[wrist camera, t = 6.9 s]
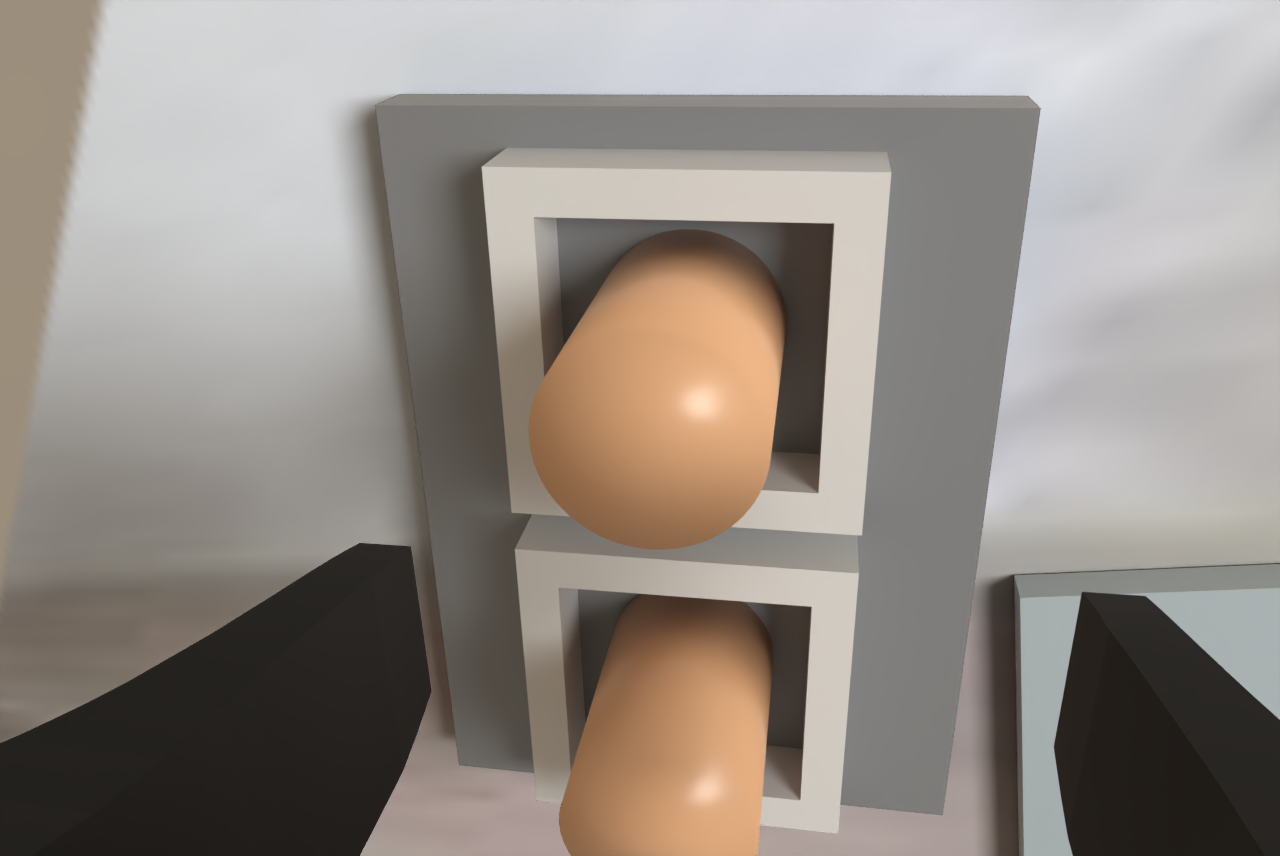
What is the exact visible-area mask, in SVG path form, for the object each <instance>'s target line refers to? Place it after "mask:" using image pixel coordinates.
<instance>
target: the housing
mask: <svg viewBox="0 0 1280 856" xmlns="http://www.w3.org/2000/svg"><path fill="white" fill-rule="evenodd" d="M375 108H376V116H377V124H378V132H379V140H380V148H381V155H382V163H383V171H384V179H385V187H386V195H387V203H388V210H389V218H390V226H391V234H392V242H393V250H394V258H395V266H396V273H397V281H398V289H399V297H400V305H401V313H402V321H403V328H404V336H405V344H406V352H407V360H408V368H409V376H410V383H411V391H412V399H413V407H414V415H415V423H416V431H417V438H418V446H419V454H420V462H421V470H422V478H423V486H424V493H425V501H426V509H427V517H428V525H429V533H430V541H431V548H432V556H433V564H434V572H435V580H436V588H437V596H438V603H439V611H440V619H441V627H442V635H443V643H444V651H445V659H446V666H447V674H448V682H449V690H450V698H451V706H452V714H453V721H454V729H455V737H456V745H457V753H458V761H459V765H463V766H473V767H483V768H492V769H502V770H511V771H521V772H531V773H534V776H535V787H536V799H537V801H543V802H552V803H562V800H563V796H564V793H565V790H566V787H567V783H568V780H569V777H570V773H571V770H572V767H573V763H574V760H575V757H576V754H577V750H578V747H579V744H580V740H581V737H582V734H583V730H584V727H585V724H586V721H587V717H588V714H589V711H590V707H591V704H592V701H593V697H594V694H595V691H596V688H597V684H598V681H599V678H600V674H601V671H602V668H603V664H604V661H605V658H606V655H607V651H608V648H609V645H610V641H611V638H612V635H613V631H614V628H615V625H616V623H617V620H618V618H619V616H620V615H621V613H622V611H623V610H624V609H625V608H626V606H627V605H628V604H629V603H630V602H631V601H633V600H634V599H635V598H636V597H638V596H639V595H641V594H651V595H664V596H677V597H690V598H703V599H717V600H730V601H743V602H745V603H746V604H747V605H748V606H749V607H751V608H752V609H753V610H754V611H755V613H756V614H757V615H758V616H759V617H760V619H761V620H762V621H763V623H764V624H765V626H766V628H767V630H768V632H769V635H770V637H771V640H772V645H773V670H772V682H771V694H770V707H769V719H768V732H767V744H766V756H765V769H764V781H763V794H762V806H761V819H760V825H765V826H774V827H783V828H792V829H802V830H811V831H820V832H830V833H838V825H839V813H840V805H848V806H858V807H867V808H877V809H887V810H896V811H906V812H915V813H925V814H935V815H943V809H944V802H945V794H946V787H947V780H948V773H949V766H950V758H951V751H952V744H953V737H954V730H955V722H956V715H957V708H958V701H959V693H960V686H961V679H962V672H963V665H964V657H965V650H966V643H967V636H968V628H969V621H970V614H971V607H972V600H973V592H974V585H975V578H976V571H977V564H978V556H979V549H980V542H981V535H982V527H983V520H984V513H985V506H986V499H987V491H988V484H989V477H990V470H991V463H992V455H993V448H994V441H995V434H996V426H997V419H998V412H999V405H1000V398H1001V390H1002V383H1003V376H1004V369H1005V361H1006V354H1007V347H1008V340H1009V333H1010V325H1011V318H1012V311H1013V304H1014V297H1015V289H1016V282H1017V275H1018V268H1019V260H1020V253H1021V246H1022V239H1023V232H1024V224H1025V217H1026V210H1027V203H1028V196H1029V188H1030V181H1031V174H1032V167H1033V159H1034V152H1035V145H1036V138H1037V131H1038V123H1039V116H1040V109H1041V108H1040V107H1039V106H1038V105H1037V104H1036V103H1035V102H1034V101H1033V100H1032V99H1031V98H1030V97H1029V96H872V95H517V94H399V95H397V96H395V97H393V98H390V99H388V100H386V101H384V102H381V103H379V104H377V105H375ZM679 229H698V230H707V231H711V232H715V233H719V234H722V235H724V236H727V237H729V238H732V239H734V240H735V241H737V242H739V243H741V244H743V245H744V246H745V247H747V248H748V249H750V250H751V251H752V252H753V253H755V254H756V255H757V256H758V257H759V258H760V259H761V260H762V261H763V262H764V264H765V265H766V266H767V267H768V269H769V270H770V271H771V273H772V275H773V276H774V278H775V279H776V281H777V283H778V286H779V288H780V290H781V293H782V296H783V300H784V303H785V310H786V334H785V343H784V351H783V360H782V368H781V376H780V385H779V393H778V402H777V410H776V418H775V427H774V435H773V443H772V452H771V459H770V467H769V471H768V474H767V478H766V481H765V484H764V486H763V488H762V490H761V492H760V494H759V496H758V498H757V499H756V501H755V502H754V504H753V505H752V507H751V508H750V509H749V510H748V511H747V512H746V514H745V515H744V516H743V517H742V518H741V519H740V520H739V521H737V522H736V523H735V524H734V525H733V526H732V527H730V528H729V529H727V530H725V531H724V532H722V533H721V534H719V535H717V536H715V537H713V538H711V539H709V540H707V541H704V542H701V543H698V544H695V545H692V546H687V547H682V548H676V549H663V550H660V549H643V548H637V547H631V546H627V545H623V544H619V543H616V542H614V541H611V540H608V539H606V538H603V537H601V536H599V535H597V534H595V533H593V532H592V531H590V530H588V529H587V528H585V527H584V526H582V525H581V524H579V523H578V522H576V521H575V520H574V519H573V518H572V517H570V516H569V515H568V514H567V513H566V512H565V511H564V510H563V509H562V508H561V507H560V506H559V505H558V504H557V503H556V502H555V500H554V499H553V498H552V496H551V495H550V494H549V492H548V491H547V490H546V488H545V486H544V484H543V483H542V481H541V479H540V477H539V475H538V472H537V470H536V467H535V465H534V462H533V458H532V454H531V451H530V443H529V418H530V412H531V407H532V404H533V400H534V397H535V394H536V392H537V390H538V388H539V386H540V384H541V382H542V380H543V379H544V377H545V376H546V374H547V372H548V371H549V369H550V368H551V366H552V364H553V363H554V361H555V360H556V358H557V356H558V355H559V353H560V352H561V350H562V348H563V347H564V345H565V344H566V342H567V340H568V339H569V337H570V336H571V334H572V333H573V331H574V329H575V328H576V326H577V325H578V323H579V321H580V320H581V318H582V317H583V315H584V313H585V312H586V310H587V309H588V307H589V305H590V304H591V302H592V301H593V299H594V297H595V296H596V294H597V293H598V291H599V290H600V288H601V286H602V285H603V283H604V282H605V280H606V278H607V277H608V275H609V274H610V272H611V271H612V269H613V268H614V266H615V265H616V263H617V262H618V261H619V260H620V259H621V258H622V257H623V256H624V254H625V253H627V252H628V251H629V250H630V249H632V248H633V247H634V246H635V245H637V244H639V243H640V242H642V241H644V240H645V239H648V238H650V237H652V236H654V235H657V234H660V233H664V232H667V231H673V230H679Z"/></svg>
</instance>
